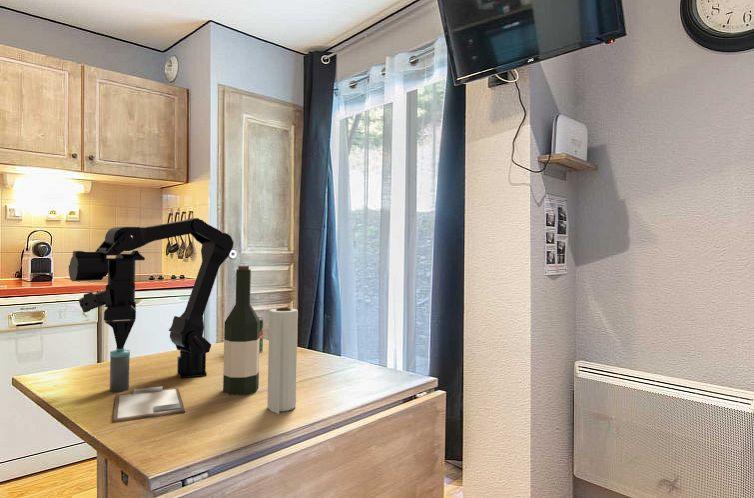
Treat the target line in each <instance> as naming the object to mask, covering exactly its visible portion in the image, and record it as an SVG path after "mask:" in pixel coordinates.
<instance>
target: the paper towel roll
mask: <svg viewBox="0 0 754 498" xmlns="http://www.w3.org/2000/svg"><path fill="white" fill-rule="evenodd" d="M268 313H269V314H268V315H269V316H268V317H269V319H268V361H267V362H268V363H267V364H268V365H267V402H266V403H267V404H266V405H267V406H266V407H267V409H268V410H270V412H272V413H276V414H277V415H278V416H279V415H280V412H288V411H291V410H294V409H295V408H296V406H297V366H298V365H297V364H298V363H297V361H298V318H299V314H298V313H299V311H298V309H296V308H290V307H289V308H288V307H281V308H272V309H269V312H268Z"/></svg>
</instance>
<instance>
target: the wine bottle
mask: <svg viewBox="0 0 754 498" xmlns="http://www.w3.org/2000/svg"><path fill="white" fill-rule="evenodd" d="M237 267H238V268H237V269H236V273H235V275H236V278H235V304H234V306H233V307H232V309H231V310H230V313H229V314H228V316H227V317H226V319H225V320H224V332H223V333H224V335H223V337H224V338H223V380H222V382H223V383H222V392H223V393H224V394H225V395H228V396H247V395H250V394H255V393H257V391H258V389H259V384H260V383H259V382H260V377H259V376H260V374H259V373H260V353H259V343H260V320H259V318H258V317H259V316H258V315H257V313H256V311H255V310H254V308H253V307H252V304H251V284H252V283H251V277H252V276H251V275H252V274H251V273H252V269H250V266H249V265H238V266H237Z"/></svg>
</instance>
